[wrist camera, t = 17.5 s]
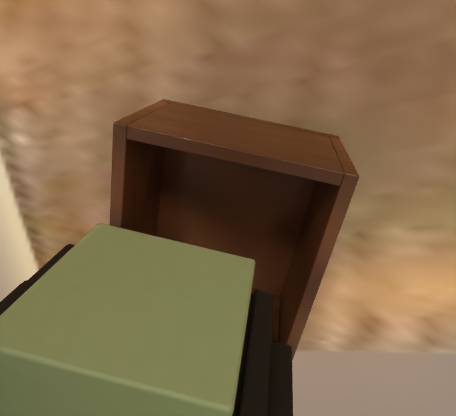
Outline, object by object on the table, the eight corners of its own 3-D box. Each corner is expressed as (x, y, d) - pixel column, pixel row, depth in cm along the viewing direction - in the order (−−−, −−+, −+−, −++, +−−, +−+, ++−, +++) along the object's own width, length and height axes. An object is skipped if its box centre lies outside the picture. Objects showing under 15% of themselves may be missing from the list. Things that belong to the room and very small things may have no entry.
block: (95, 339, 12) (-4, 489, 8) (98, 221, 10) (-31, 342, 6) (227, 373, 12) (195, 547, 8) (256, 258, 10) (233, 411, 6)
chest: (163, 99, 28) (112, 122, 20) (338, 136, 27) (359, 176, 19) (147, 264, 34) (105, 330, 27) (287, 298, 34) (286, 376, 26)
